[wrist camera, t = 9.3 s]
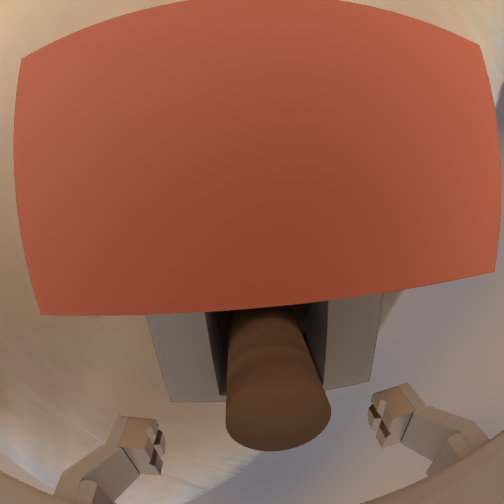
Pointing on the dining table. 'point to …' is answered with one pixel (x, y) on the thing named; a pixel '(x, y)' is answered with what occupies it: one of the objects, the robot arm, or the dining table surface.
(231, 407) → the walnut peg
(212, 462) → the dining table surface
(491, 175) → the socket stand
